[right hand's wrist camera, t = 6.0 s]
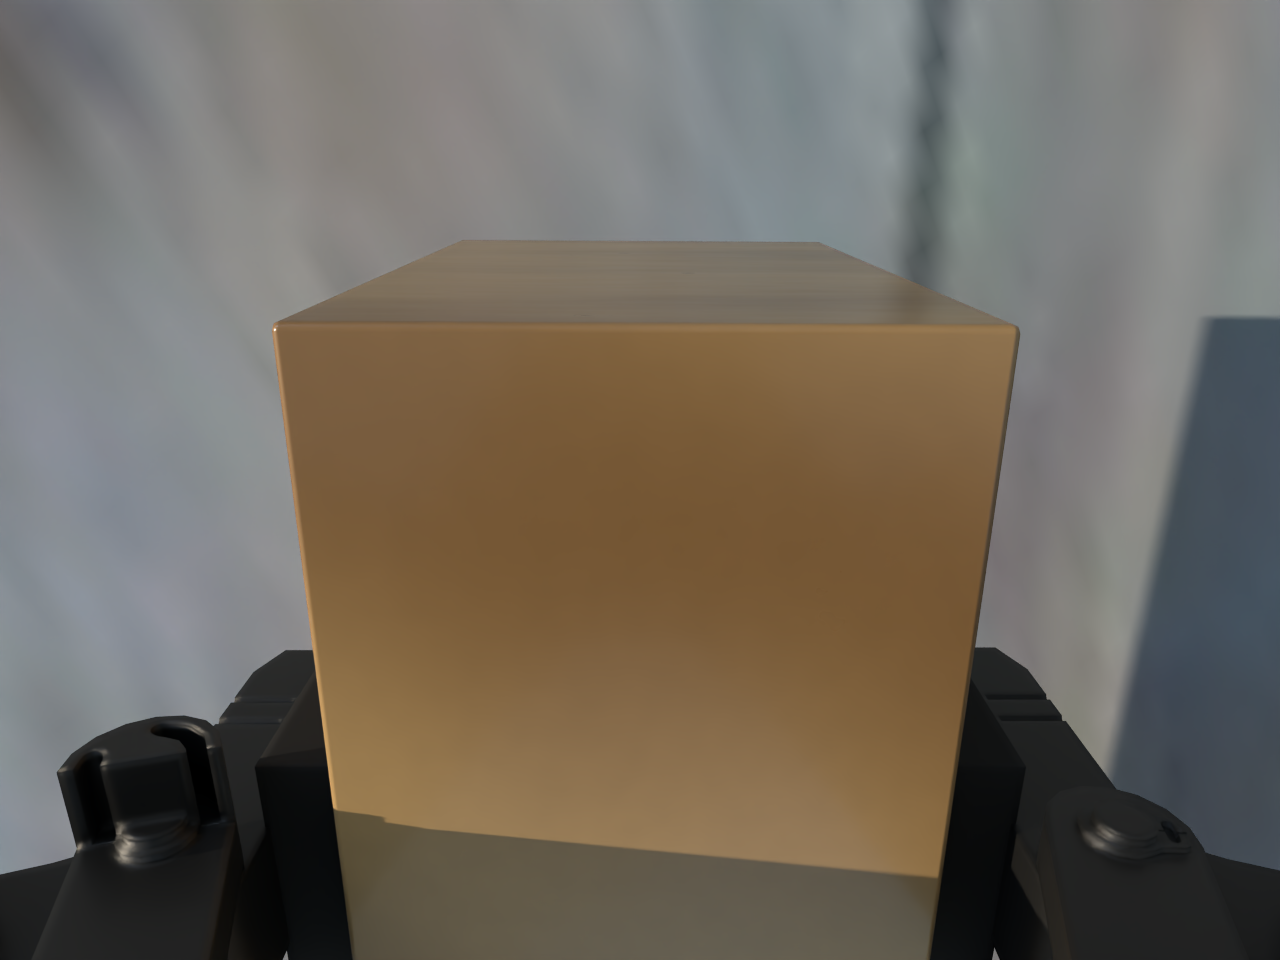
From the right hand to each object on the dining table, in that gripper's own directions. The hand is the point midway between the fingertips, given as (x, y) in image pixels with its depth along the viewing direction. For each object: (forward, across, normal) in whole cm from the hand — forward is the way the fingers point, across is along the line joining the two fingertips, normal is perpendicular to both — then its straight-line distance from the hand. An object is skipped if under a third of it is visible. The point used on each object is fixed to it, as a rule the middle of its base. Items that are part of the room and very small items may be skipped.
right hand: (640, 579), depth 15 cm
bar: (0, 0, -35) cm, 35 cm away
